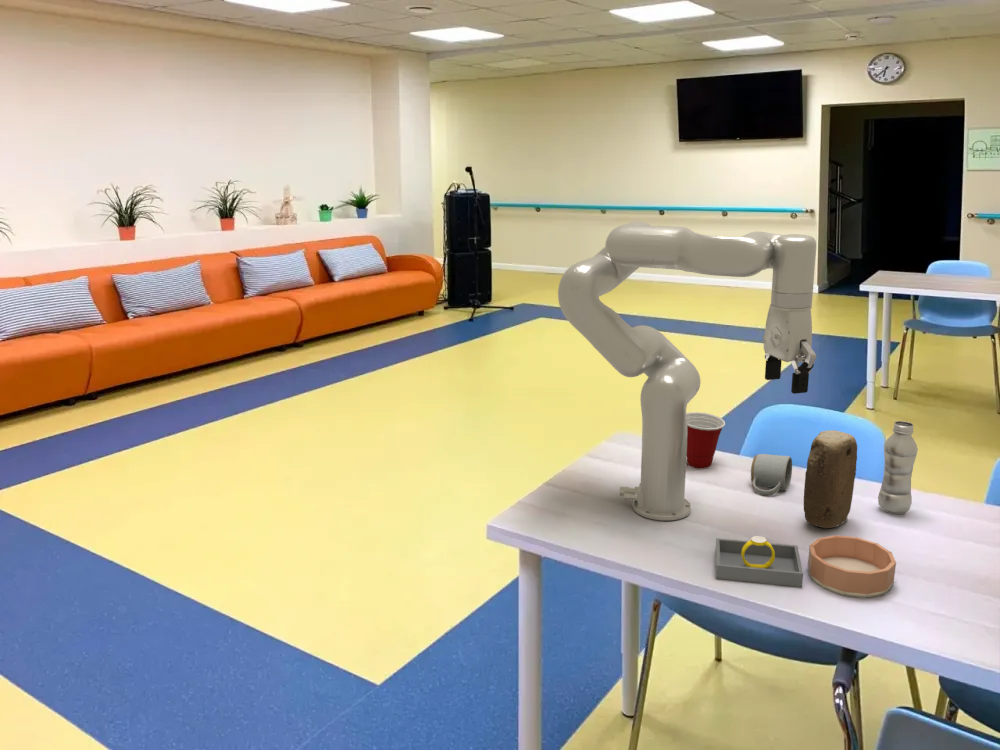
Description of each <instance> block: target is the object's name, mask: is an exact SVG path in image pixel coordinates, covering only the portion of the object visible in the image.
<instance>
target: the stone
mask: <svg viewBox="0 0 1000 750" xmlns="http://www.w3.org/2000/svg"><path fill="white" fill-rule="evenodd" d="M857 461H858V444H857V439H856V438H855V437H854V435H852V434H850V433H846V432H843V431H838V430H829V429H828V430H823V431H820V432H819V433H818V434H817V436H816V437H814V439H813V440H812V443H811V445H810V450H809V454H808V457H807V462H806V471H805V475H804V476H805V477H804V489H803V512H804V518H805V519H804V520H805V521H806V523H808V524H811V525H813V526H816V527H818V528H819V527H820V528H822V529H823V528H824V529H831V528H836V527H838V526H841V525H842V524H844V523H845V522H847V519H848V516H849V514H850V512H851V508H852V501H853V494H854V488H855V487H854V486H855V479H856V473H857Z"/></svg>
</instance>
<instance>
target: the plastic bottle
mask: <svg viewBox="0 0 1000 750" xmlns="http://www.w3.org/2000/svg"><path fill="white" fill-rule="evenodd" d="M892 432H893V433H892V434H891V435H890V436H889V437H887V439H886V440H885V442H884V444H883V454H884V455H883V456H884V457H883V458H884V463H883V464H884V466H883V468H884V469H883V477H882V482H881V486H880V489H879V493H878V495H877V500H878V501H877V502H878V506H879V507H880V509H881V510H883V511H885V512H887V513H890V514H895V515H903V514H904V515H905V514H906V513H907V512H909V511H910V509H911V507H912V503H913V502H912V501H913V500H912V499H913V498H912V477H913V476H912V475H913V474H912V473H913V471H914V470H913V469H914V465H915V462H916V458H917V455H918V449H919V448H918V445H917V442H916V440H915V439H914V437H913V436H912V435H913V434H914V424H913V423H912V422H909V421H904V420H897V421H894V424H893V427H892Z"/></svg>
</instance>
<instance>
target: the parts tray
mask: <svg viewBox="0 0 1000 750" xmlns="http://www.w3.org/2000/svg"><path fill="white" fill-rule="evenodd" d="M748 541H749V540H738V539H728V538H719V537H718V538H715V579H717V580H726V581H727V580H728V581H737V582H738V581H739V582H748V583H754V584H755V583H756V584H766V585H767V584H768V585H776V586H777V585H778V586H785V587H786V586H787V587H788V586H790V587H797V588H803V581H804V580H803V579H804V572H803V571H804V570H803V565H802V560H801V556H800V552H799V546H798V545H795V544H783V543H775V542H774V543H773V542H769V543H770V544H771V545H772V547H773V549H774V552H775V559H774V562H773V563H772V565H771V566H770V567H768V568H767V569H764V568H754V567H747V566H746V565H745V564H744V562H743V559H742V556H741V552H742V548H743V546H744V545H745V544H746V542H748ZM771 556H772V551H771V549H770V547H768V546H766V545H763V546H757V545H754V544H753V545H751V546H749V547H748V548H747V549H746V551H745V554H744V558H745V560H746V561H747V562H748V563H749V564H761V565H763V564H765V563H767V562H768V561H769V560H770V558H771Z"/></svg>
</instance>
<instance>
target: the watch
mask: <svg viewBox="0 0 1000 750" xmlns="http://www.w3.org/2000/svg"><path fill="white" fill-rule="evenodd" d="M747 541H748V542H746V544H745V545H744V546H743V548H742V552H741V556H742V559H743V562H744V564H745V565H746V566H747V567H754V568H764V569H767V568H768V567H770V566H771V565H772V563H773V562H774V559H775V552H774V549H773V547H772V545H771V544H770V543H771V542H769V541H767V538H766V537H764V536H760V535H754V536H752V537H751V539H750V540H747ZM753 544H754V545H757V546H763V545H766V546H768V547H770V549H771V551H772V556H771V558H770V560H769V561H768V562H767V563H765V564H763V565H761V564H749V563H748V562H747V561H746V560H745V558H744V554H745V551H746V549H747V548H748V547H749V546H751V545H753Z"/></svg>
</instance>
